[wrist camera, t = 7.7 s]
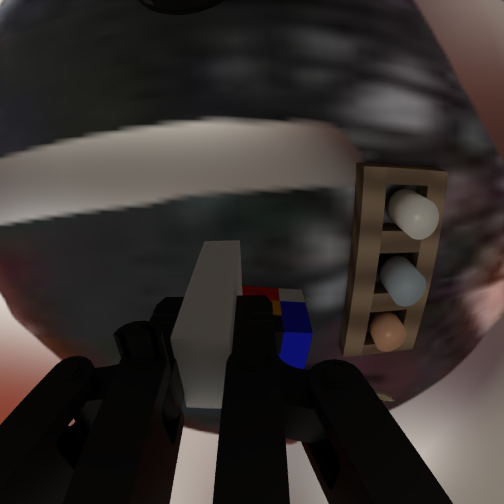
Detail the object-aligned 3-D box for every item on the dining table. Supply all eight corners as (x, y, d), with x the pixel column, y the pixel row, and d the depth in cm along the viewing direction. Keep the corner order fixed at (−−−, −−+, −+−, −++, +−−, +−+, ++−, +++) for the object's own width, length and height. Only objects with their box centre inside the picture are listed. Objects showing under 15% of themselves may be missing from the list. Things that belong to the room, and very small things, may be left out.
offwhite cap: (388, 188, 36) (406, 198, 32) (421, 189, 36) (441, 199, 32) (385, 225, 38) (401, 239, 34) (417, 225, 38) (435, 239, 34)
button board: (356, 162, 38) (364, 166, 35) (436, 167, 38) (448, 171, 35) (338, 344, 49) (342, 356, 46) (406, 337, 49) (412, 348, 46)
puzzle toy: (301, 289, 45) (312, 333, 36) (291, 344, 49) (298, 391, 40) (229, 284, 45) (224, 328, 36) (227, 340, 49) (222, 388, 40)
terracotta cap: (368, 306, 45) (379, 326, 41) (397, 304, 45) (409, 323, 41) (363, 332, 47) (372, 353, 43) (391, 329, 47) (402, 349, 43)
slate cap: (381, 256, 40) (395, 273, 35) (413, 254, 40) (429, 271, 35) (376, 288, 42) (389, 307, 37) (407, 286, 42) (421, 304, 37)
